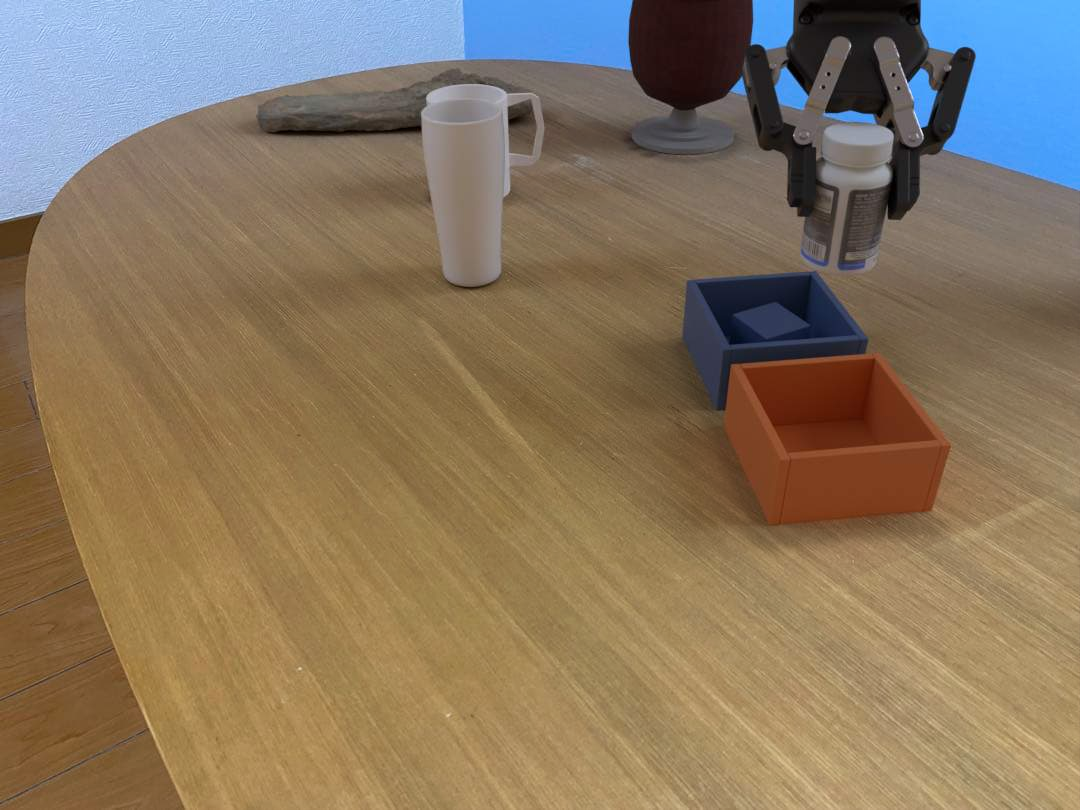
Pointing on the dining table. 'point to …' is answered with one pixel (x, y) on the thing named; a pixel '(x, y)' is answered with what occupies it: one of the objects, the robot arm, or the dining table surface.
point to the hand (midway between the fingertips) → (852, 212)
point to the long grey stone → (371, 106)
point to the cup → (503, 101)
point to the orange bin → (833, 439)
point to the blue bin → (729, 295)
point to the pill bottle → (849, 199)
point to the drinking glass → (466, 186)
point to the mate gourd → (687, 68)
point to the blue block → (767, 325)
